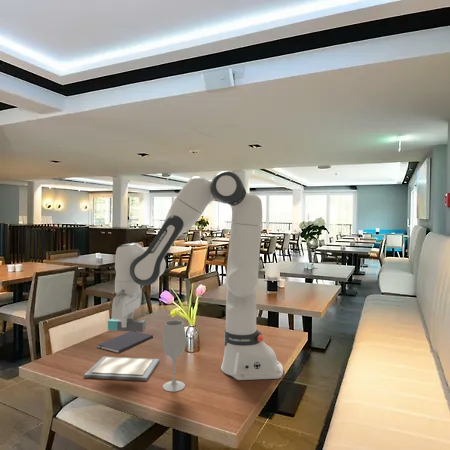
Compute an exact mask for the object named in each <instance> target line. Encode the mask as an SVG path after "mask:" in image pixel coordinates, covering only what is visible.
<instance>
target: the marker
mask: <svg viewBox="0 0 450 450" xmlns="http://www.w3.org/2000/svg"><path fill="white" fill-rule="evenodd" d="M126 319H127V318H126ZM127 322H128V326H127V327H126V328H122V326H121V320H114V319H113V318H112V317H111V318H110V319H108V321H107V331H118V332H130V331H133V332H140V333H144V332H145V330H146V329H147V328H146V325H147V324H146V323H147V322H146V319H134V318H132V319H127Z"/></svg>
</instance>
